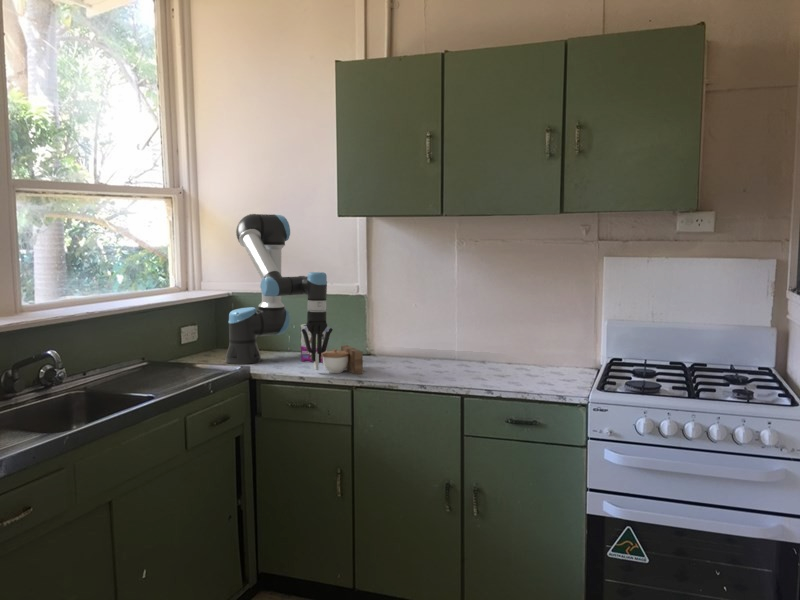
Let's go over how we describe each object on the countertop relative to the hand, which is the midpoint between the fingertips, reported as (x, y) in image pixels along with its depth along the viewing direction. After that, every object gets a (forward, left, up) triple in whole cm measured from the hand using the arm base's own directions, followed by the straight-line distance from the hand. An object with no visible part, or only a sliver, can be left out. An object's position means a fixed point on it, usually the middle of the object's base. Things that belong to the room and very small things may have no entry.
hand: (316, 369), depth 260 cm
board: (0, +15, -2) cm, 15 cm away
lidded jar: (0, +8, -2) cm, 9 cm away
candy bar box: (-27, +7, -2) cm, 28 cm away
